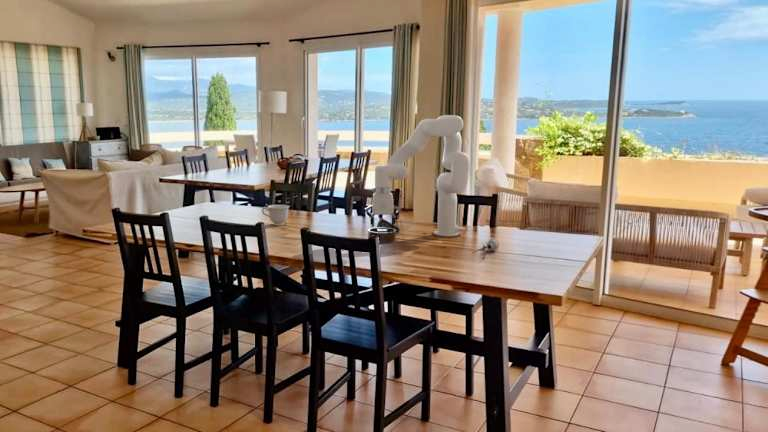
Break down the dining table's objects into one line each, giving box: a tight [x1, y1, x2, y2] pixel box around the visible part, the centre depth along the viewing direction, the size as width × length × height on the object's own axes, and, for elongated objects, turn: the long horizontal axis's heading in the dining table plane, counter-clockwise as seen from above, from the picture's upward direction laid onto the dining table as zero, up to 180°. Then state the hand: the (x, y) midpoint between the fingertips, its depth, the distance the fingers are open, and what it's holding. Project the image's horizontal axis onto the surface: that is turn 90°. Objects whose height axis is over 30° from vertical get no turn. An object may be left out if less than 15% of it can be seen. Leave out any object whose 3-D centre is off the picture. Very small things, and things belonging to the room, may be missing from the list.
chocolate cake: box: [376, 217, 401, 234], centre depth 300 cm, size 10×7×12 cm
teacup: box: [261, 204, 290, 226], centre depth 314 cm, size 12×15×10 cm
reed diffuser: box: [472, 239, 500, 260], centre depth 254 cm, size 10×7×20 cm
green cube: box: [377, 229, 387, 233], centre depth 279 cm, size 4×4×4 cm
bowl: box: [367, 227, 397, 244], centre depth 279 cm, size 13×13×5 cm
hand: (382, 225), depth 279 cm, fingers open, 9 cm apart
